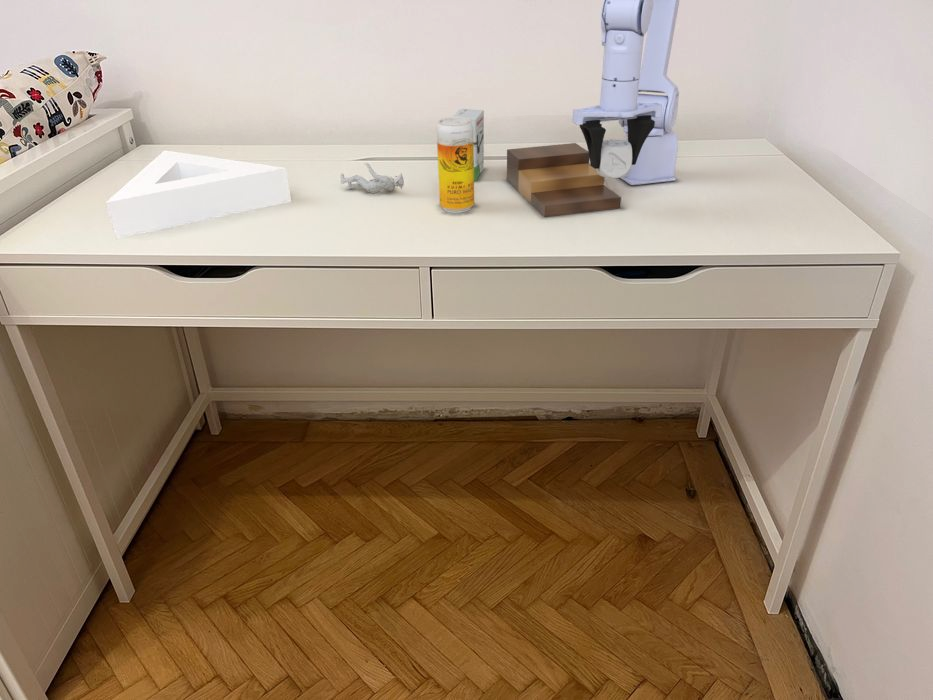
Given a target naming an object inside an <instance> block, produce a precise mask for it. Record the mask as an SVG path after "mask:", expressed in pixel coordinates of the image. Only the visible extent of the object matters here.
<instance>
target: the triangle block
mask: <svg viewBox="0 0 933 700" xmlns="http://www.w3.org/2000/svg"><path fill="white" fill-rule="evenodd" d="M291 202H292V198H291V191H290V185H289V180H288V172H287V167H281V166H275V165H268V164H261V163H253V162H247V161H240V160H234V159H226V158H220V157H214V156H206V155H200V154H193V153H187V152H180V151H179V152H178V151H171V150H166V149H165V150H163V151H162V152H161V153H159V154H158V155H157V156H156V157H155V158H154V159H153V160H151V162H150V163H148V164H147V165H146V166H145V167H144V168H143V169H142V170H140V171H139V172H138V173H137V174H136V175H135V176H133V178H131V179H130V180H129V181H128V182H127V183H126V184H125V185H123V187H121V188H120V189H119V190H118V191H117V192H116V193H114V194H113V195H112V196H111V197H110V198H108V200H107V201H105V205H106V209H107V212H108V215H109V219H110V222H111V225H112V229H113V231H114V235H115V238H116V240H118V239H122V238H126V237H131V236H132V237H133V236H137V235H140V234H142V235H143V234H145V233H146V234H147V233H151V232H155V231H159V230H165V229H169V228H174V227H178V226H179V227H180V226H183V225H189V224H193V223H197V222H202V221H207V220H212V219H217V218H220V217H226V216H230V215H234V214H235V215H236V214H240V213H244V212H248V211H254V210H259V209H263V208H269V207H273V206H277V205H281V204H287V203H291Z"/></svg>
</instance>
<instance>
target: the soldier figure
mask: <svg viewBox="0 0 933 700" xmlns="http://www.w3.org/2000/svg"><path fill="white" fill-rule="evenodd" d="M364 165H365V166H366V167H367V169H368V172H369V173H370V175H371V176H372V178H373V179H369V180H367V179H366V178H365V177H362V176H361V175H359V174H355V175H353V176H349V177H345V174H344V173H341V174H340V184H341V185H343V184H346V183H347V187H346V188H347V190H351V189H358V188H363V189H364V190H365V191H366V192H368V193H370V194H375V193H378V192H380V191H382V190H384V191H385V190H387V191H388V192H392V191H393V190H394V189H395V188H396V187H399V188H400V189H401V190H402V189H403V187H404V185H405V181H404V176H403V173H402V172H401V173H400V174H398V175H397V176H396V175H395V176H393V177H392V176H388V175H380V174H377V173H376V172H375V171H374V169H373V168H372V166H371V165H370V164H369V162H365V163H364ZM355 182H356V183H355Z"/></svg>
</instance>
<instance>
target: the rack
mask: <svg viewBox="0 0 933 700" xmlns="http://www.w3.org/2000/svg"><path fill="white" fill-rule="evenodd" d="M605 178H606V177H602V176H600V175H599V174H598V173H597V170H596V169H595V168H593V167H592V166H590V157H589V152H588V149H586V148H584V147H582V146H580V145H579V143H576V142H570V143H561V144H559V143H558V144H549V145H540V146H529V147H517V148H508V149H506V182H508V183H509V184H510V185H511V186H512V187H513V188H514V189H515V190H516V191H517V192H518V193H520V195H521V196H522V197H523V198H524V199H525V200H526V201H527V202H529V204H530V205H531V206H533V207H534V209H536V211H537V212H539V214H540V215H542V216H543V217H544V218H548V217H549V218H550V217H557V216H565V215H566V216H567V215H573V214H574V215H575V214H582V213H591V212H599V211H608V210H616V209H621V203H622V197H621V196H620V195H619V194H617V193H616V192H615V191H614V190H612V189H611V188H609V187H608V186H607V185H605V180H606V179H605Z"/></svg>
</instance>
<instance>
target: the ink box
mask: <svg viewBox="0 0 933 700" xmlns="http://www.w3.org/2000/svg"><path fill="white" fill-rule="evenodd" d="M484 111H485V110H483V109H471V108H459V109H458V110H457V111H456V112H455V114H453V115H452V117H463V118H468V119H470V120H471V124H472V126H473V148H474V181H477V180H478V179H479V177H480V175H481V174H482V172H483V170H484V165H485V164H484V163H485V162H484V161H485V160H484V156H485V155H484V154H485V153H484V147H485V145H484V144H485V143H484V141H485V140H484V139H485V136H484V133H485V132H484V131H485V130H484V129H485V127H484V126H485V112H484Z"/></svg>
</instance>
